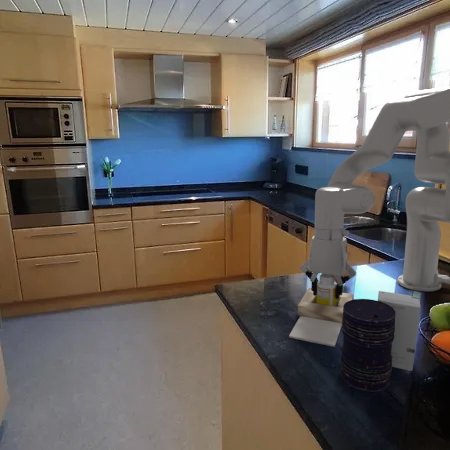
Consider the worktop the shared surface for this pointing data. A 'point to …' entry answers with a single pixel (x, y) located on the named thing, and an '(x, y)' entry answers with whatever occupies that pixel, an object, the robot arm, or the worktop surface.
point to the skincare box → (403, 327)
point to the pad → (316, 331)
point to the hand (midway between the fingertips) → (326, 294)
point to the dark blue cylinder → (367, 344)
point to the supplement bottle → (326, 290)
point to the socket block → (322, 307)
